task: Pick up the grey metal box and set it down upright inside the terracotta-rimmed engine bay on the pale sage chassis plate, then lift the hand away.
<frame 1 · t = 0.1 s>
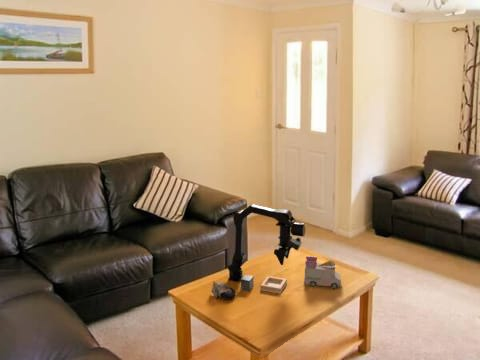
hand: (284, 261, 248), 15 cm above the table, fingers open, 9 cm apart
toy vehicle: (322, 285, 253), on the table
chassis: (273, 286, 251), on the table
caster wheel: (224, 296, 242), on the table
grey metal box: (247, 287, 250), on the table
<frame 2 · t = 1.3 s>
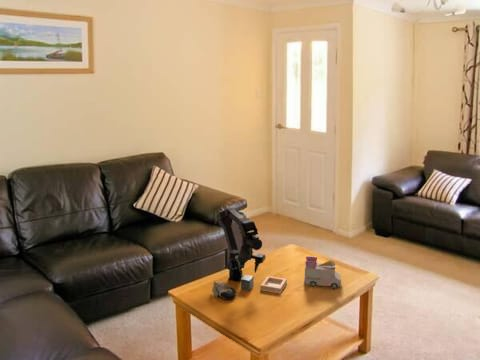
hand: (247, 271, 248), 10 cm above the table, fingers open, 9 cm apart
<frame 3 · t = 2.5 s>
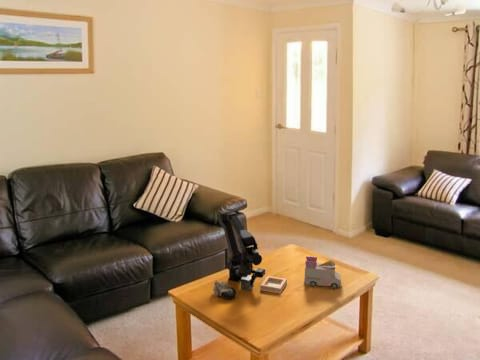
hand: (247, 285, 250), 1 cm above the table, fingers closed on grey metal box, 5 cm apart
grey metal box: (247, 287, 250), on the table, touching gripper
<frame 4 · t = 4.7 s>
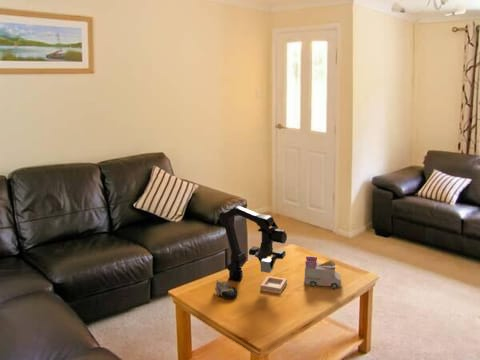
hand: (267, 267, 248), 11 cm above the table, fingers closed on grey metal box, 5 cm apart
grey metal box: (267, 270, 248), point 10 cm above the table, touching gripper
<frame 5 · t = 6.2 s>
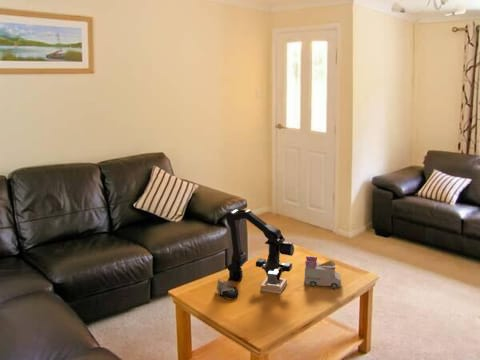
hand: (273, 279, 250), 4 cm above the table, fingers closed on grey metal box, 5 cm apart
grey metal box: (273, 281, 250), point 3 cm above the table, touching gripper
when the fingers open (3 cm above the table, at t = 7.2 s): grey metal box drops 1 cm, resting on chassis.
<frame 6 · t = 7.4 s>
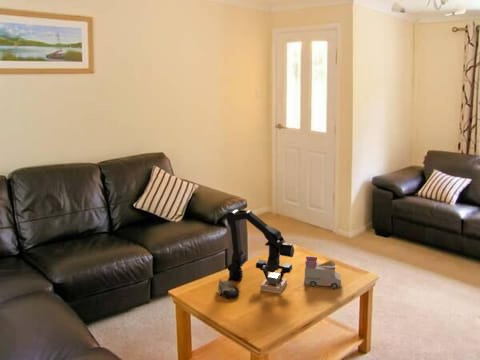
hand: (273, 280, 250), 3 cm above the table, fingers open, 7 cm apart
grey metal box: (273, 285, 251), point 1 cm above the table, touching chassis
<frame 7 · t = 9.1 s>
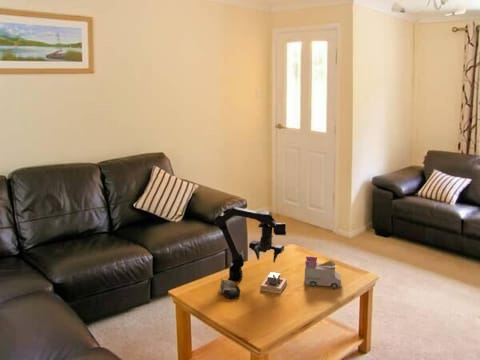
hand: (266, 261, 258), 11 cm above the table, fingers open, 9 cm apart
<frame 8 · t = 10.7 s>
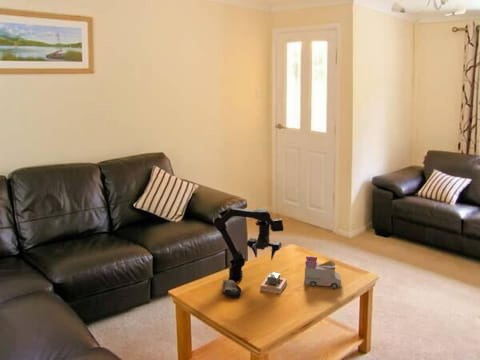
hand: (263, 258, 261), 11 cm above the table, fingers open, 9 cm apart
at the end: grey metal box 0.1 cm off-centre on the chassis, point 0.8 cm above the chassis's base; grey metal box tilted 0°; the gripper is holding nothing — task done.
